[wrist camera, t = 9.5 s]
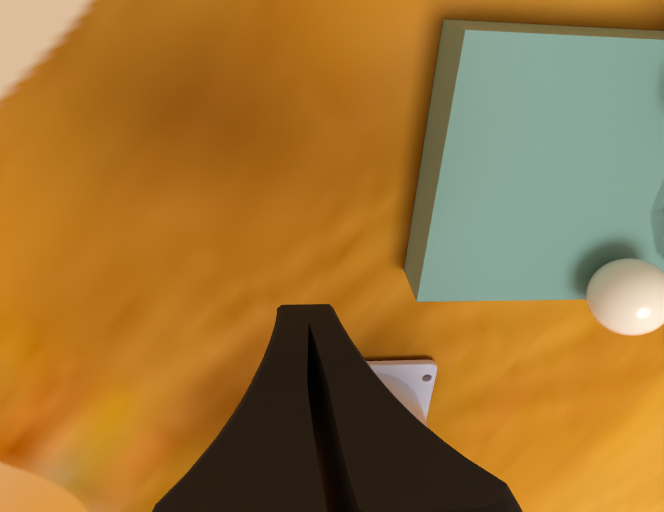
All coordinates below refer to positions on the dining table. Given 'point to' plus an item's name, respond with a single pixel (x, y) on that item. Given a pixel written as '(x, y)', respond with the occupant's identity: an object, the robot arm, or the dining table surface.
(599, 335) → the dining table surface
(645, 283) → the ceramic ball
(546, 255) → the bearing plate
